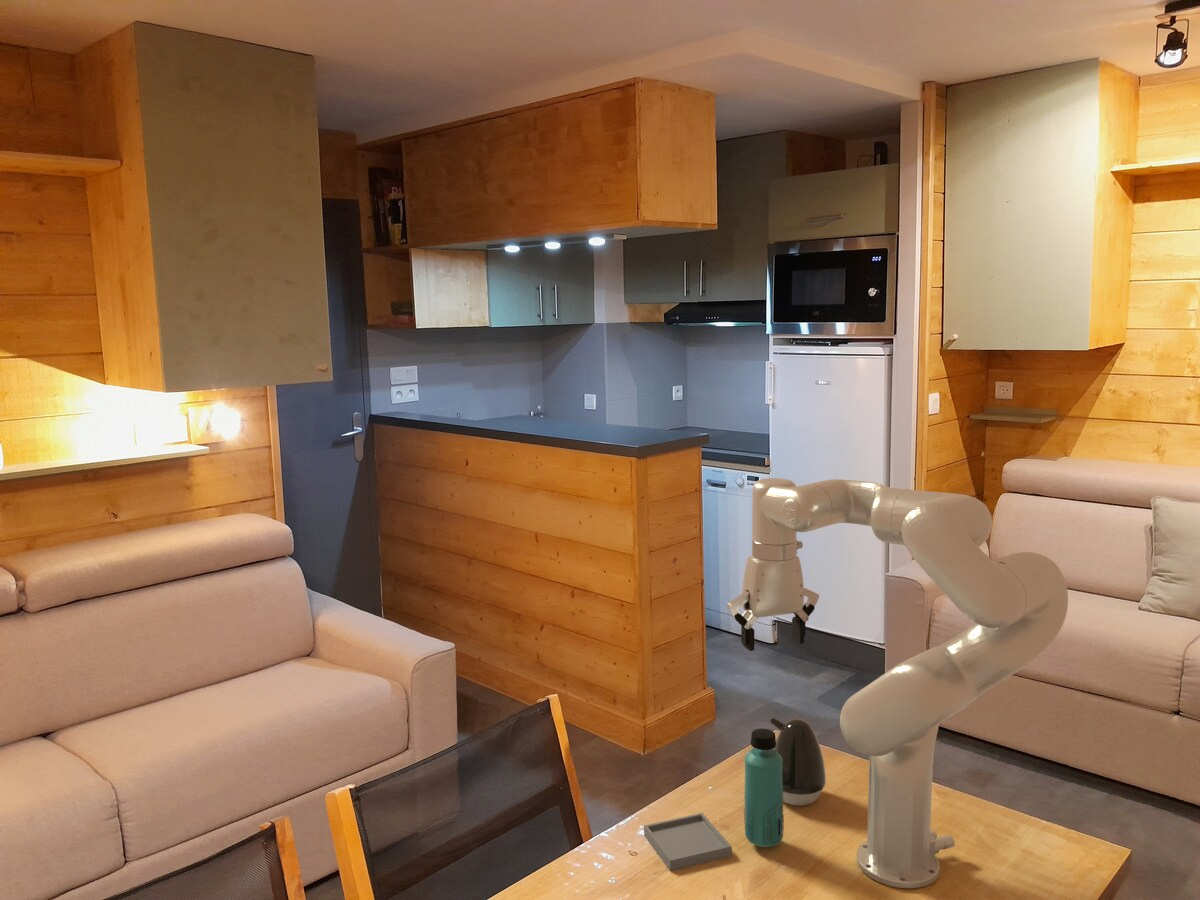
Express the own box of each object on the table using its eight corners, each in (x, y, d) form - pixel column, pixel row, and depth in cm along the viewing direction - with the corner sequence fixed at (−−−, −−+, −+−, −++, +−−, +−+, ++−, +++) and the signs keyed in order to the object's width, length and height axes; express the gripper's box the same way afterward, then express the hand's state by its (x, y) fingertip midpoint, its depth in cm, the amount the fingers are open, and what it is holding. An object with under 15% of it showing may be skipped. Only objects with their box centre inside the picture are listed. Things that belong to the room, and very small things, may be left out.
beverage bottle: (783, 858, 151) (784, 742, 148) (742, 854, 153) (742, 739, 150) (783, 835, 158) (784, 725, 155) (744, 832, 159) (744, 722, 156)
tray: (702, 822, 162) (702, 812, 162) (731, 856, 152) (731, 846, 152) (644, 835, 159) (643, 825, 159) (670, 870, 149) (669, 860, 148)
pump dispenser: (781, 778, 177) (782, 703, 175) (833, 794, 171) (835, 716, 169) (757, 802, 169) (758, 723, 166) (811, 819, 163) (812, 737, 160)
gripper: (807, 540, 166) (806, 632, 169) (719, 549, 161) (719, 643, 164) (829, 550, 159) (828, 645, 162) (738, 560, 154) (738, 658, 157)
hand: (773, 644), depth 163 cm, fingers open, 9 cm apart
